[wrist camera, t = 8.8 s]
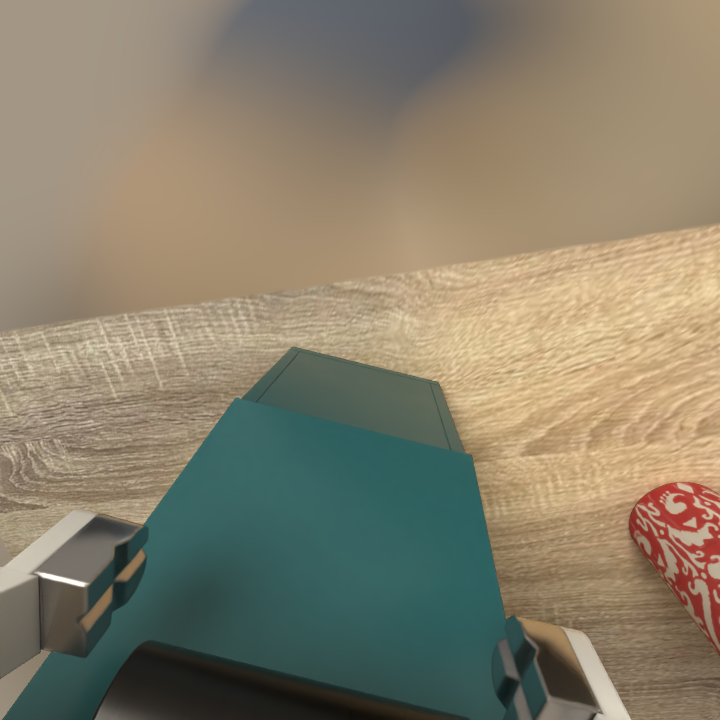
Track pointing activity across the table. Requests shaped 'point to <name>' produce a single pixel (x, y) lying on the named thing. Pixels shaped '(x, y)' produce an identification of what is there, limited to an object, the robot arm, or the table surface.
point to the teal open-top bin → (358, 397)
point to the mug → (684, 547)
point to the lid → (299, 587)
